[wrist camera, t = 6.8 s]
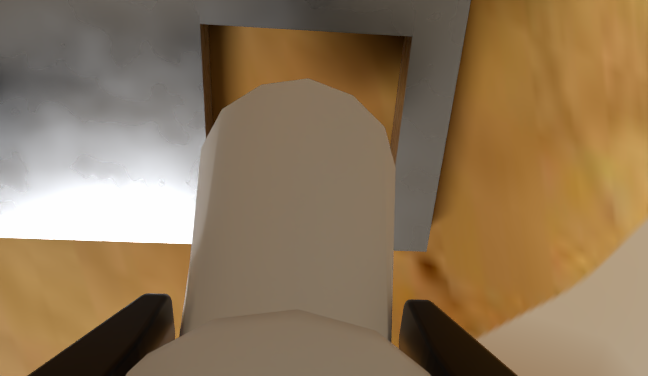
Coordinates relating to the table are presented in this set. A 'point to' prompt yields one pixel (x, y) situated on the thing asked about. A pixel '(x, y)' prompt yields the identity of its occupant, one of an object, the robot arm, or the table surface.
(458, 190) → the table surface
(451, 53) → the rail plate
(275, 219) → the salt shaker
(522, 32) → the table surface
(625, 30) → the table surface
